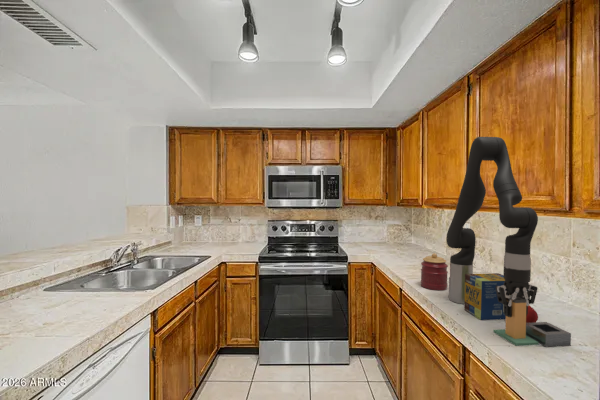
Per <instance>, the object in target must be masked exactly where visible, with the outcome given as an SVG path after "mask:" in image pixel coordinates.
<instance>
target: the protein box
mask: <svg viewBox="0 0 600 400" xmlns="http://www.w3.org/2000/svg"><path fill="white" fill-rule="evenodd" d="M503 275H504V274H502V273H497V272H496V273H491V272H490V273H473V274H465V304H463V305H464V311H466V312H467V313H469V314H470V315H472V316H474V317H475V318H477V319H478V320H480V321H491V320H492V321H493V320H506V315H505V314H504V304H502V303H500V302H498V298H497V293H496V288H495V287H496V286H502V285H503V284H504V282H505V279H504V277H503ZM505 291H506V290H505ZM509 296H511V295H509Z"/></svg>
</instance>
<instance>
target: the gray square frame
mask: <svg viewBox="0 0 600 400" xmlns="http://www.w3.org/2000/svg"><path fill="white" fill-rule="evenodd" d="M526 336H528V337H530V338H532V339H533V340H535V341H537V342H539V344H540V345H541V346H544V347H545V348H550V347H553V348H554V347H569V346H571V344H572V342H571V341H572V332H568V330H567V331H566V330H565V329H563V328H560V327H558V326H557V325H554V324H552V323H549V322H547V321H536V322H532V323H526Z"/></svg>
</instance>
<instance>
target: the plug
mask: <svg viewBox="0 0 600 400" xmlns="http://www.w3.org/2000/svg"><path fill="white" fill-rule="evenodd" d="M510 297H511V296H510ZM508 301H509V299H508ZM511 307H512V317H507V316H506V319H505V328H504V329H505V333H506V334H507V335H509V336H511V337H512V338H514V339H521V338H526V299H523V298H521V297H516V298H515V300H514V301H513V302H512V305H511Z"/></svg>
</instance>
